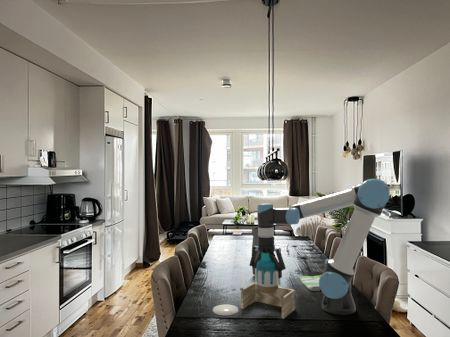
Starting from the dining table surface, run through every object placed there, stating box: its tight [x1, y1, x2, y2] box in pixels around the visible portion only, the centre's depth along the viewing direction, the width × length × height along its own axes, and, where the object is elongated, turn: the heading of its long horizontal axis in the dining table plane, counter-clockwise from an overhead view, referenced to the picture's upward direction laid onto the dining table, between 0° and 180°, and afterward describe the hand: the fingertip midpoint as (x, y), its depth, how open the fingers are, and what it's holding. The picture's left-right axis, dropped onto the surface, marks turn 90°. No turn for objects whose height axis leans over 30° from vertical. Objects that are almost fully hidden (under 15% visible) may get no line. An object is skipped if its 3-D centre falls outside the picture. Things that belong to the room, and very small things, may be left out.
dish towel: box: [298, 274, 322, 292], centre depth 201 cm, size 17×23×4 cm
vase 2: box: [256, 252, 279, 293], centre depth 164 cm, size 11×11×19 cm
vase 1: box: [251, 226, 260, 277], centre depth 218 cm, size 12×12×30 cm
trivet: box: [212, 303, 239, 316], centre depth 163 cm, size 12×12×1 cm
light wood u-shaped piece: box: [239, 282, 296, 320], centre depth 164 cm, size 22×14×10 cm, turn 56°
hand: (267, 283), depth 164 cm, fingers closed on vase 2, 10 cm apart
